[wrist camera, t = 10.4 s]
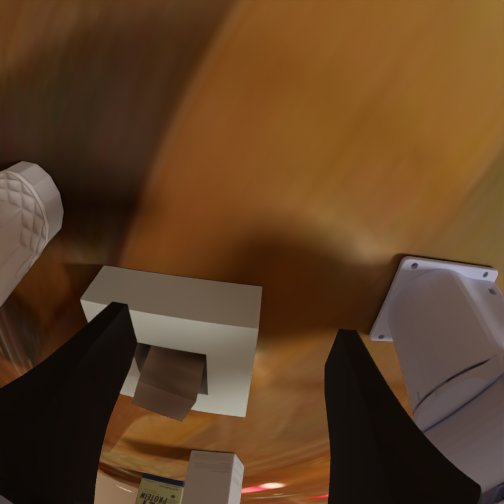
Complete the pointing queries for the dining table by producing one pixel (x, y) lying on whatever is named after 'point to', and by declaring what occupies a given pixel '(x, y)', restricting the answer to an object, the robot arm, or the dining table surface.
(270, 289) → the dining table surface
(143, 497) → the protein box
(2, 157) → the dining table surface
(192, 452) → the supplement box
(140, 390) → the peg
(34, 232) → the white cup
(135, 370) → the socket block
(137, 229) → the dining table surface
